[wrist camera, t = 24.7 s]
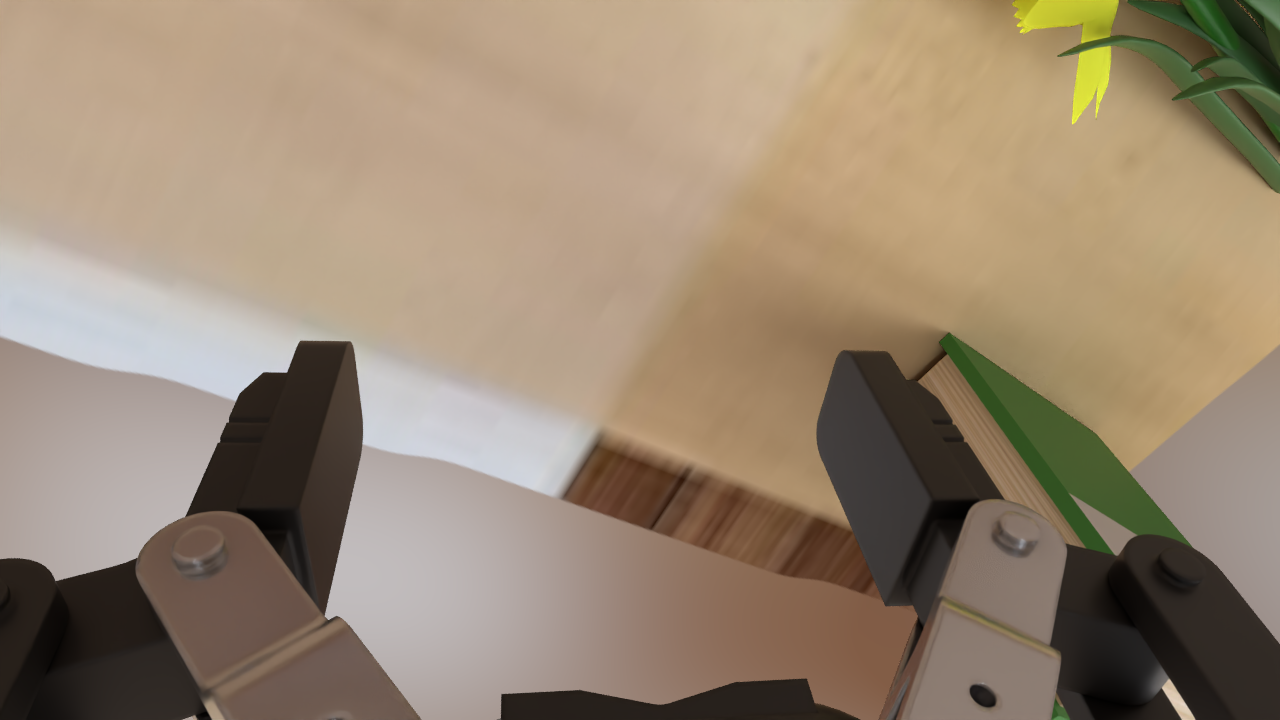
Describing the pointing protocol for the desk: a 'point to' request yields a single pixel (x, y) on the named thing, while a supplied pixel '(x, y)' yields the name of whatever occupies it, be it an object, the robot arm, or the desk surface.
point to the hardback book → (1046, 462)
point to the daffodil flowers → (1247, 59)
